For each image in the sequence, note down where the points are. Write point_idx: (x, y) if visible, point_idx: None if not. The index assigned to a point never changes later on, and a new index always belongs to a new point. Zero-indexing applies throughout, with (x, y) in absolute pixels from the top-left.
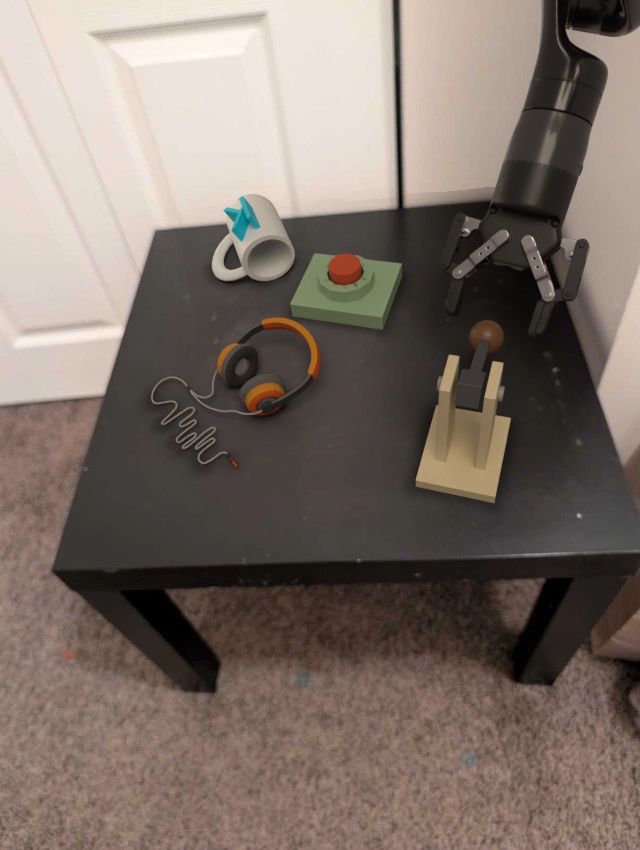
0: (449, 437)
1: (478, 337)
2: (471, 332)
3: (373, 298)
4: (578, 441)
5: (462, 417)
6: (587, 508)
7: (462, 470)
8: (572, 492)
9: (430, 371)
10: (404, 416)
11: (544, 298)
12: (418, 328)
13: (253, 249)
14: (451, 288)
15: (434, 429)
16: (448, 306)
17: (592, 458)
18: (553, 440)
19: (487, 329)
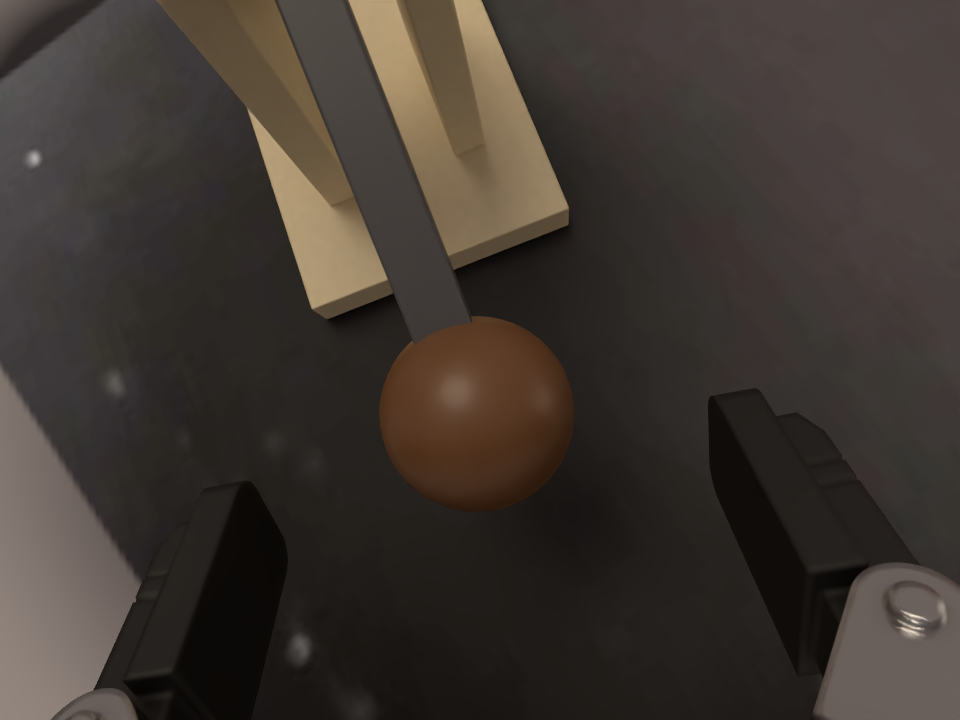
0: (404, 20)
1: (480, 324)
2: (544, 353)
3: None
4: (115, 387)
5: (456, 213)
6: (21, 191)
7: None
8: (71, 212)
9: (704, 376)
10: (652, 147)
11: (114, 703)
12: None
13: None
14: (862, 516)
15: (511, 116)
16: (783, 424)
17: (59, 351)
18: (182, 346)
19: (448, 372)
